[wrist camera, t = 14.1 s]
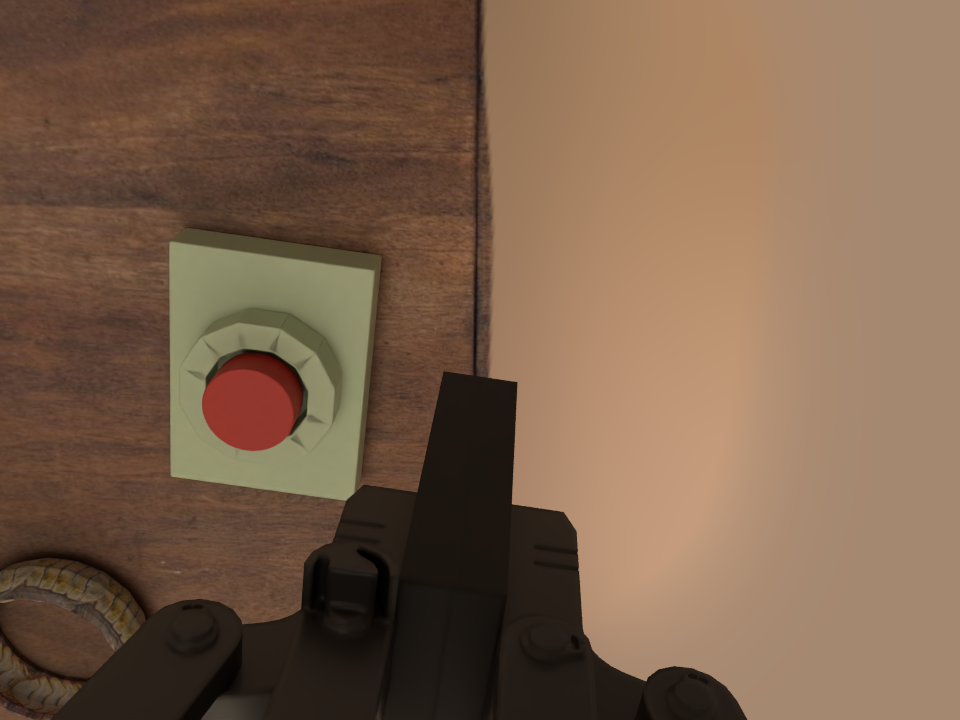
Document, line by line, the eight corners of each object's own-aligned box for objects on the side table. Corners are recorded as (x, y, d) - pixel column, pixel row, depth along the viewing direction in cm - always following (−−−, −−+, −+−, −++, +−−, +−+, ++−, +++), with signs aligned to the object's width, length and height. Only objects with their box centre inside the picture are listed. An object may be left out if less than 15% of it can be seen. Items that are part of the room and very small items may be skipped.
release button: (214, 346, 40) (201, 362, 38) (305, 358, 40) (296, 375, 38) (213, 426, 42) (201, 445, 40) (300, 438, 42) (291, 457, 40)
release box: (185, 226, 42) (153, 253, 38) (382, 255, 42) (368, 284, 38) (185, 454, 47) (156, 497, 43) (361, 478, 47) (347, 523, 43)
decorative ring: (-30, 536, 49) (-13, 678, 53) (-66, 574, 46) (-44, 721, 50) (158, 561, 49) (161, 700, 53) (134, 600, 46) (140, 744, 50)
